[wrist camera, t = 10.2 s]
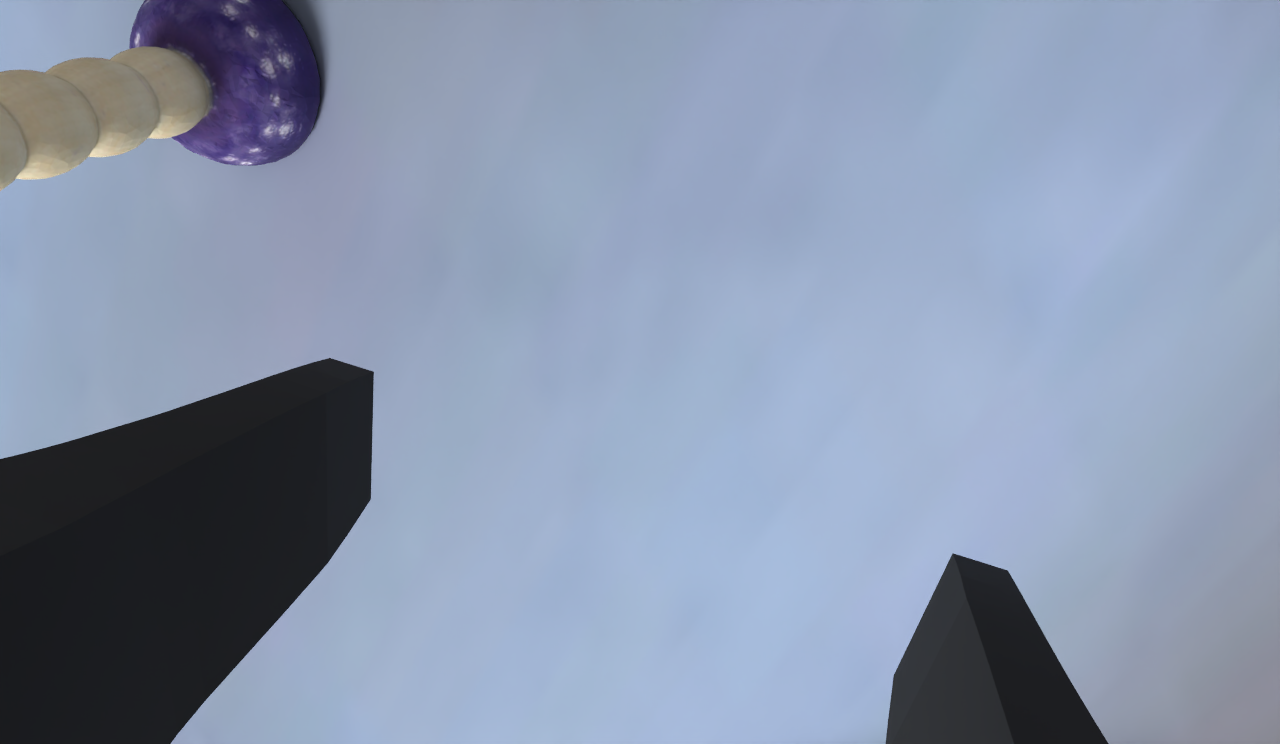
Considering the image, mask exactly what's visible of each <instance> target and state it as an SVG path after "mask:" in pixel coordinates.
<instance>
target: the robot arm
mask: <svg viewBox="0 0 1280 744" xmlns="http://www.w3.org/2000/svg"><path fill="white" fill-rule="evenodd" d="M373 376H374V372H372V371H369V370H366V369H363V368H360V367H357V366H353V365H350V364H347V363H344V362H341V361H337V360H334V359H331V358H329V359H325V360H321V361H317V362H314V363H310V364H307V365H303V366H300V367H297V368H294V369H291V370H288V371H285V372H282V373H279V374H276V375H273V376H270V377H267V378H264V379H261V380H258V381H255V382H252V383H250V384H247V385H244V386H241V387H238V388H235V389H232V390H229V391H226V392H223V393H220V394H218V395H215V396H212V397H209V398H206V399H203V400H200V401H197V402H194V403H191V404H188V405H185V406H182V407H179V408H176V409H173V410H170V411H167V412H164V413H161V414H158V415H155V416H152V417H148V418H145V419H142V420H138V421H135V422H132V423H128V424H125V425H122V426H119V427H115V428H112V429H109V430H105V431H102V432H99V433H95V434H92V435H89V436H85V437H82V438H79V439H75V440H72V441H69V442H65V443H62V444H58V445H54V446H51V447H47V448H43V449H39V450H35V451H32V452H28V453H24V454H20V455H16V456H12V457H8V458H3V459H0V744H170V743H171V742H172V741H173V739H174V738H175V737H176V735H177V734H178V733H179V732H180V730H181V729H182V728H183V727H184V726H185V724H186V723H187V722H188V721H189V720H190V718H191V717H192V716H193V715H194V713H195V712H196V711H197V710H198V709H199V707H200V706H201V705H202V704H203V703H204V701H205V700H206V699H207V698H208V697H209V696H210V695H211V694H212V692H213V691H214V690H215V689H216V688H217V687H218V686H219V685H220V684H221V682H222V681H223V680H224V679H225V678H226V677H227V676H228V675H229V674H230V672H231V671H232V670H233V669H234V668H235V667H236V666H237V665H238V663H239V662H240V661H241V660H242V659H243V658H244V657H245V656H246V655H247V653H248V652H249V651H250V650H251V649H252V648H253V647H254V646H255V645H256V643H257V642H258V641H259V640H260V639H261V638H262V637H263V636H264V635H265V633H266V632H267V631H268V630H269V629H270V628H271V627H272V626H273V625H274V623H275V622H276V621H277V620H278V619H279V618H280V617H281V616H282V615H283V613H284V612H285V611H286V610H287V609H288V608H289V607H290V605H291V604H292V603H293V602H294V601H295V600H296V599H297V598H298V596H299V595H300V594H301V593H302V592H303V591H304V590H305V588H306V587H307V586H308V585H309V584H310V583H311V582H312V581H313V579H314V578H315V577H316V576H317V575H318V574H319V572H320V571H321V570H322V569H323V568H324V567H325V565H326V564H327V563H328V562H329V560H330V559H331V557H332V556H333V555H334V553H335V552H336V550H337V549H338V547H339V546H340V545H341V543H342V542H343V540H344V539H345V537H346V536H347V535H348V533H349V532H350V530H351V529H352V527H353V525H354V524H355V522H356V521H357V519H358V518H359V516H360V515H361V513H362V512H363V510H364V509H365V507H366V506H367V504H368V502H369V501H370V499H371V463H372V420H373ZM886 744H1108V742H1107V741H1106V739H1105V737H1104V736H1103V734H1102V733H1101V731H1100V729H1099V728H1098V726H1097V725H1096V723H1095V721H1094V720H1093V718H1092V716H1091V715H1090V713H1089V711H1088V710H1087V708H1086V706H1085V705H1084V703H1083V701H1082V700H1081V698H1080V696H1079V695H1078V693H1077V691H1076V690H1075V688H1074V686H1073V685H1072V683H1071V681H1070V679H1069V678H1068V676H1067V674H1066V673H1065V671H1064V669H1063V667H1062V666H1061V664H1060V662H1059V660H1058V659H1057V657H1056V655H1055V653H1054V652H1053V650H1052V648H1051V646H1050V645H1049V643H1048V641H1047V639H1046V638H1045V636H1044V634H1043V632H1042V630H1041V629H1040V627H1039V625H1038V623H1037V621H1036V620H1035V618H1034V616H1033V614H1032V613H1031V611H1030V609H1029V607H1028V605H1027V604H1026V602H1025V600H1024V598H1023V596H1022V595H1021V593H1020V591H1019V589H1018V587H1017V586H1016V584H1015V582H1014V581H1013V579H1012V577H1011V575H1010V574H1009V572H1008V571H1007V570H1004V569H1001V568H998V567H995V566H991V565H988V564H985V563H982V562H979V561H975V560H972V559H969V558H966V557H963V556H959V555H956V554H952V556H951V558H950V560H949V562H948V564H947V566H946V569H945V571H944V573H943V575H942V577H941V579H940V581H939V583H938V585H937V587H936V589H935V591H934V593H933V595H932V598H931V600H930V602H929V604H928V606H927V608H926V610H925V612H924V614H923V616H922V618H921V620H920V622H919V624H918V626H917V629H916V631H915V633H914V635H913V637H912V639H911V641H910V643H909V645H908V647H907V649H906V651H905V653H904V655H903V658H902V660H901V662H900V664H899V666H898V668H897V670H896V672H895V674H894V678H893V687H892V695H891V703H890V711H889V719H888V728H887V737H886Z"/></svg>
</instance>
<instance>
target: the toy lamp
mask: <svg viewBox="0 0 1280 744" xmlns="http://www.w3.org/2000/svg"><path fill="white" fill-rule="evenodd" d="M319 103H320V77H319V74H318V70H317V64H316V60H315V58H314V54H313V51H312V49H311V47H310V44H309V41H308V39H307V36H306V34H305V33H304V31H303V29H302V26H301V25H300V23H299V22H298V20H297V19H296V18H295V16H294V15H293V13H292V12H291V11H290V10H289V8H288V7H287V6H286V5H285V4H284V3H283V1H282V0H145V1H144V3H143V4H142V6H141V7H140V9H139V11H138V14H137V17H136V19H135V22H134V24H133V27H132V32H131V36H130V49H128V50H126V51H123V52H120V53H118V54H117V55H115V56H114V57H112V58H111V59H110V60H108V59H103V58H78V59H72V60H68V61H65V62H62V63H60V64H57V65H55V66H53V67H52V68H50V69H49V70H48V71H46V72H45V73H43V72H38V71H32V70H9V71H4V72H0V191H1V190H2V189H4V188H5V187H7V186H8V185H9V184H10V183H12V182H13V181H14V180H15V179H25V180H27V179H44V178H50V177H54V176H57V175H60V174H63V173H65V172H68V171H70V170H71V169H73V168H75V167H77V166H78V165H79V164H81V163H82V162H83V161H84V160H85V159H86V158H87V157H107V156H114V155H119V154H123V153H125V152H128V151H130V150H132V149H134V148H136V147H137V146H139V145H140V144H141V143H142V142H144V141H145V140H146V139H147V138H156V139H161V138H169V137H172V138H173V139H174V140H176V141H177V142H178V143H180V144H181V145H182V146H184V147H185V148H187V149H188V150H190V151H192V152H194V153H197V154H199V155H201V156H203V157H206V158H208V159H211V160H214V161H217V162H220V163H224V164H231V165H248V166H250V165H261V164H266V163H271V162H276V161H278V160H280V159H282V158H284V157H287V156H289V155H291V154H292V153H293V152H295V151H296V150H297V149H298V148H299V147H300V146H301V145H302V144H303V142H304V141H305V140H306V138H307V137H308V136H309V134H310V133H311V130H312V128H313V126H314V122H315V119H316V116H317V110H318V107H319Z"/></svg>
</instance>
